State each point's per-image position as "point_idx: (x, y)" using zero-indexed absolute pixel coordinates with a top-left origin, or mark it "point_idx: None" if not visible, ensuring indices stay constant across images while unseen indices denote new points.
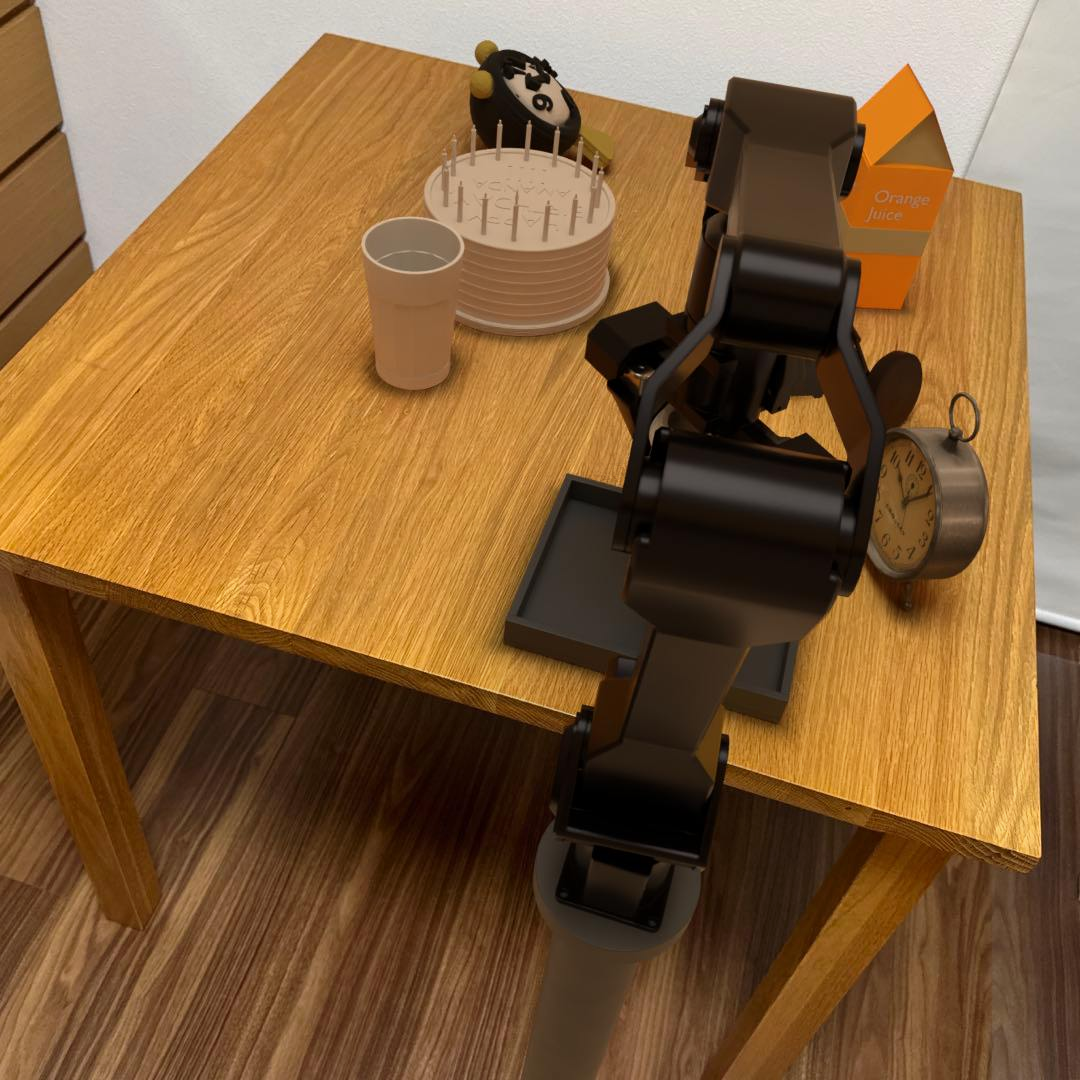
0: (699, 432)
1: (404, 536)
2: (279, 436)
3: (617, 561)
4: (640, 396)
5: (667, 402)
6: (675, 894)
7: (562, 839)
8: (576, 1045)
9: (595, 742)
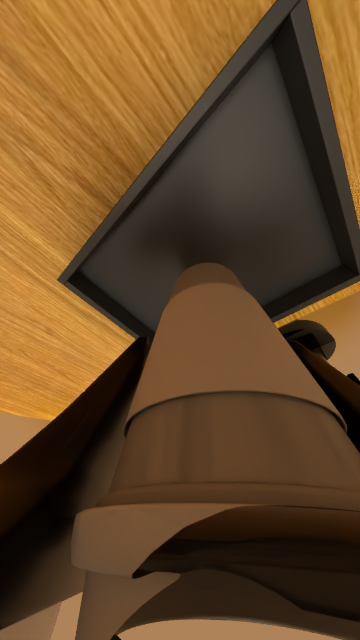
0: (147, 411)
1: (92, 355)
2: (10, 366)
3: (155, 277)
4: (60, 603)
5: (67, 548)
6: (324, 346)
7: None
8: None
9: None
